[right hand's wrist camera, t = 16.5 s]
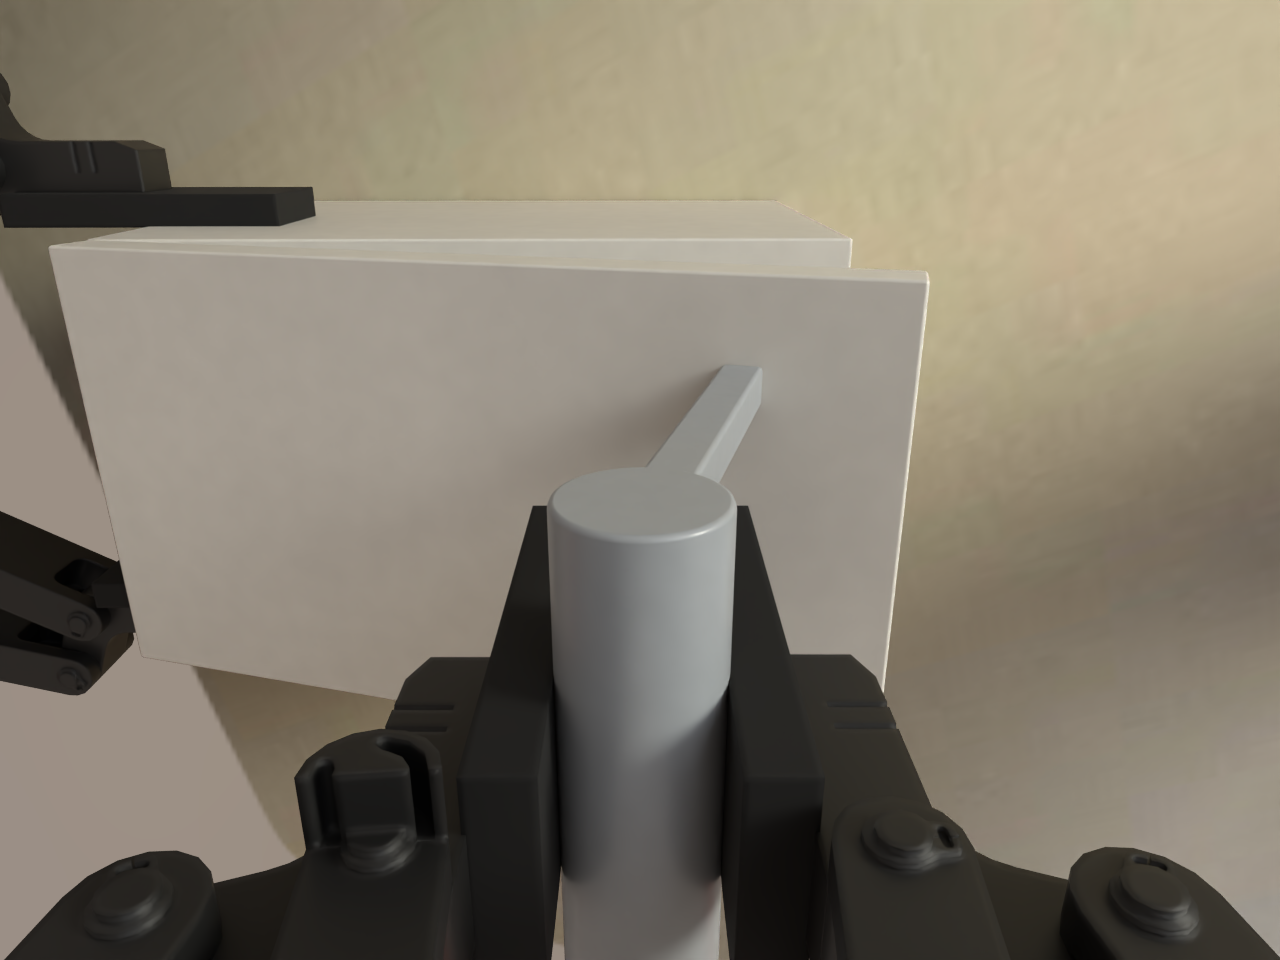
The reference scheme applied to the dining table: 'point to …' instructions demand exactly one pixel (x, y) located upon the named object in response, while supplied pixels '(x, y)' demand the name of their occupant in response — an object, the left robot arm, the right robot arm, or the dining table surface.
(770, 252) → the chest
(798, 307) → the lid
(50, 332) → the dining table surface
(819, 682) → the right robot arm
